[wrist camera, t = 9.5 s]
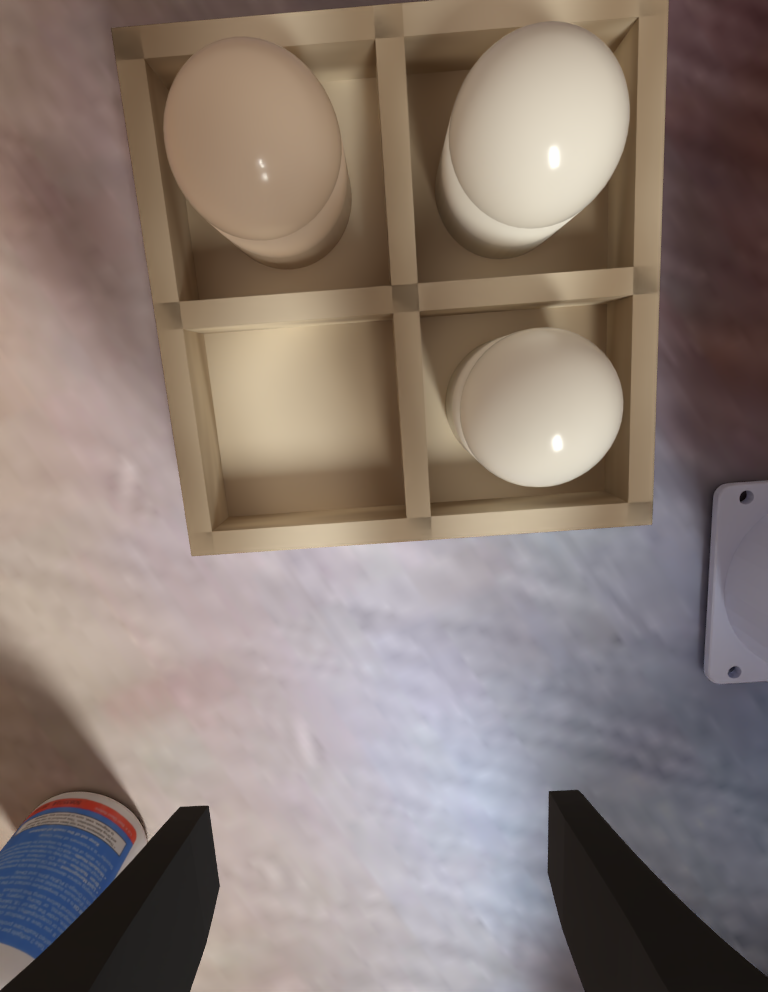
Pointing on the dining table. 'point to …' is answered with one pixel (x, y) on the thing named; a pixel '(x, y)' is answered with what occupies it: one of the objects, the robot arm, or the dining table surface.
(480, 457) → the cream egg
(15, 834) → the pill bottle
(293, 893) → the dining table surface
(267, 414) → the caddy
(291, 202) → the brown egg
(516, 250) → the cream egg
